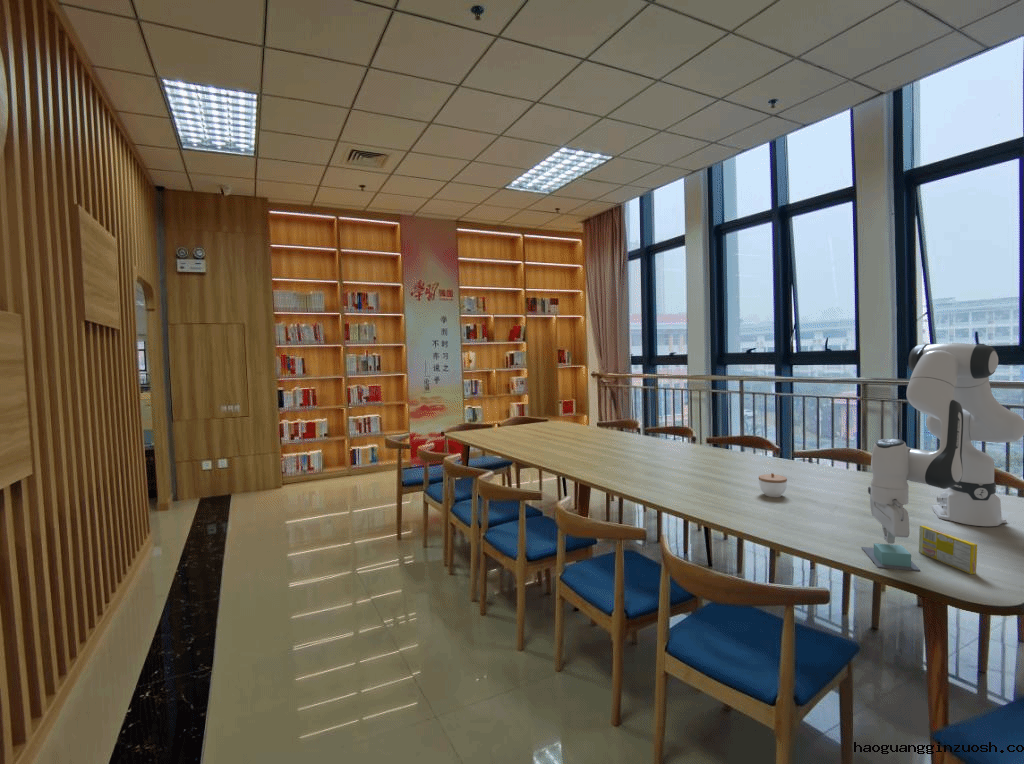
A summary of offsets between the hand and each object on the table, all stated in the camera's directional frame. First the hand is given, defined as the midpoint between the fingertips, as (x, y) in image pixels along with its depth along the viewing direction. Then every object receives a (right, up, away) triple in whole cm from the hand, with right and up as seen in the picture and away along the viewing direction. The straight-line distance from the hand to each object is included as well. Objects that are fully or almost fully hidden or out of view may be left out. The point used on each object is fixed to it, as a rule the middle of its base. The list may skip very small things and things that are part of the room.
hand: (889, 541), depth 152 cm
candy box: (+14, -5, -3) cm, 15 cm away
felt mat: (0, -5, 0) cm, 5 cm away
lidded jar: (0, -1, +68) cm, 68 cm away
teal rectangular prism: (+1, -3, +1) cm, 3 cm away
